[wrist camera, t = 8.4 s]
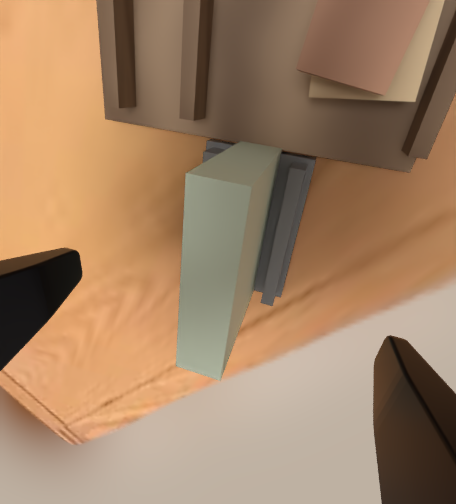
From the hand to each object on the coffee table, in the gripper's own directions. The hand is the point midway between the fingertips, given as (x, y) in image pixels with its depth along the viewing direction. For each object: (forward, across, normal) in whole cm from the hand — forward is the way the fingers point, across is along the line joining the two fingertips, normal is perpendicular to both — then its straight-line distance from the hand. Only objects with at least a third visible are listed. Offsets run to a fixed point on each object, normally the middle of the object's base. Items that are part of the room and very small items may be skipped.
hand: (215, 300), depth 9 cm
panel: (+11, +1, +3) cm, 12 cm away
